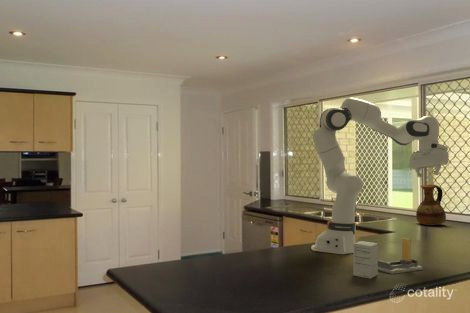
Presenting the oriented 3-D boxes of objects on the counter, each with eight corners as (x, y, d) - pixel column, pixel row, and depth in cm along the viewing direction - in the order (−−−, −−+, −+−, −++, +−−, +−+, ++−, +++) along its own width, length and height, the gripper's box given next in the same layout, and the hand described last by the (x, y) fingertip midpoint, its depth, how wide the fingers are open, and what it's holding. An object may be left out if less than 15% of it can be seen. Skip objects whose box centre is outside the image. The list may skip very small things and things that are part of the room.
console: (403, 264, 188) (403, 256, 188) (422, 269, 179) (422, 260, 179) (373, 268, 180) (373, 259, 180) (391, 274, 171) (392, 264, 171)
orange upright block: (406, 263, 184) (406, 237, 184) (412, 265, 181) (412, 239, 181) (399, 264, 182) (400, 238, 182) (405, 266, 179) (406, 239, 179)
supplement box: (360, 271, 173) (360, 240, 173) (378, 275, 168) (378, 243, 168) (352, 275, 167) (353, 243, 167) (370, 279, 163) (371, 245, 163)
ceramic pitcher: (410, 223, 322) (411, 183, 323) (432, 222, 328) (432, 183, 329) (429, 227, 304) (430, 184, 304) (452, 226, 310) (452, 185, 310)
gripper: (407, 150, 218) (405, 177, 215) (442, 143, 200) (441, 171, 197) (415, 153, 221) (414, 179, 217) (451, 146, 203) (450, 174, 199)
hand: (427, 176), depth 207 cm, fingers open, 8 cm apart
